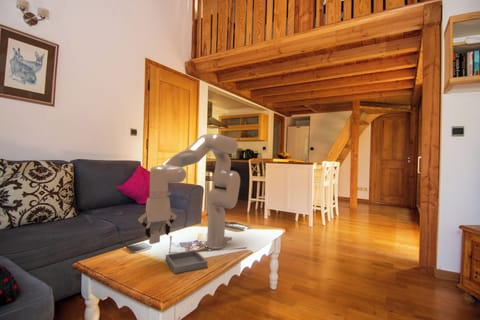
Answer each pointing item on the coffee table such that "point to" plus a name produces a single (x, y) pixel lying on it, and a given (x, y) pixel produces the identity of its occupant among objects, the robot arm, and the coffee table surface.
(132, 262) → the coffee table surface
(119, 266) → the coffee table surface
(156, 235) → the lighter
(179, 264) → the tray
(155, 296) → the coffee table surface
